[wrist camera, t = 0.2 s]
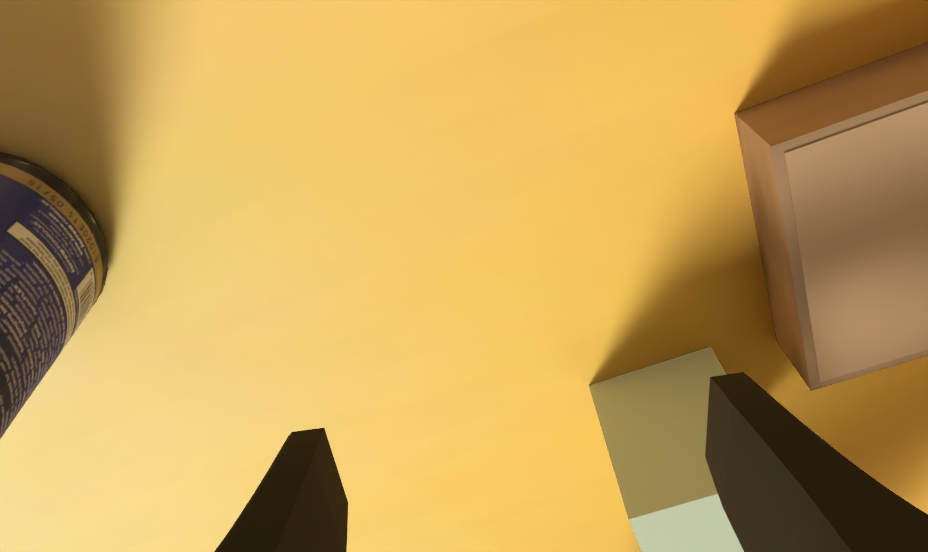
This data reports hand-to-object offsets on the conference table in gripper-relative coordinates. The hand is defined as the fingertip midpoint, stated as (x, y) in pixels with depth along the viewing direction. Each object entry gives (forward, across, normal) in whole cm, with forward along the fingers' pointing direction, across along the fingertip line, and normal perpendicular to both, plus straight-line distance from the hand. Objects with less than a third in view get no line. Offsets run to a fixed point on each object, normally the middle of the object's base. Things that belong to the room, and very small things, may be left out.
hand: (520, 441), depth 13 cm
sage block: (+10, -6, +9) cm, 15 cm away
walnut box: (+10, -13, +2) cm, 17 cm away
